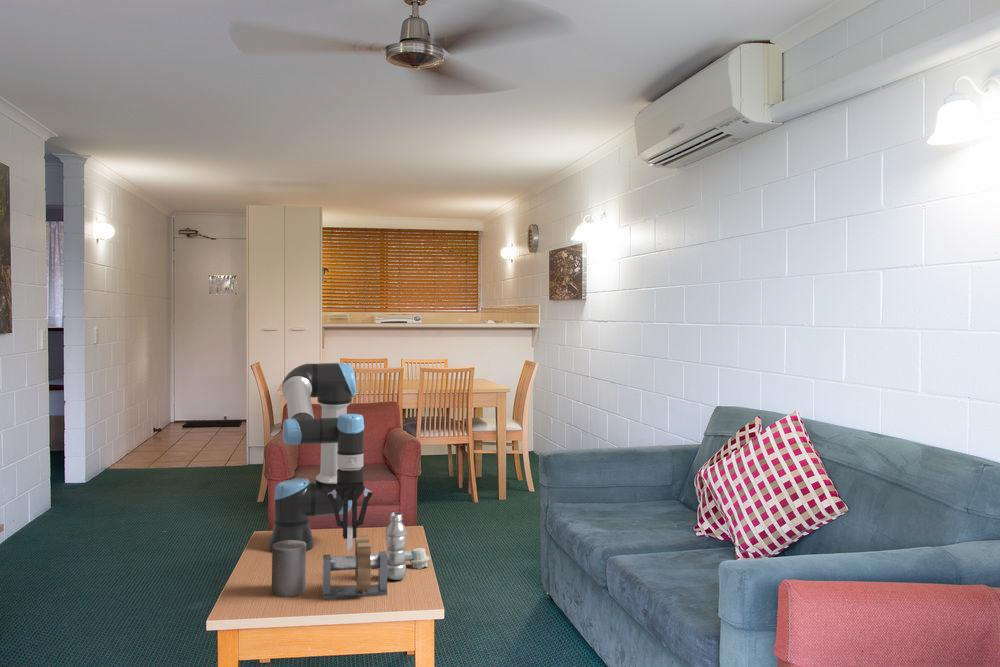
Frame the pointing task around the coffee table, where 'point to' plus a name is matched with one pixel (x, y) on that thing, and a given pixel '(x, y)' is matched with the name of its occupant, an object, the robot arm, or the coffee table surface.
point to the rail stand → (351, 564)
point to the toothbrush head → (417, 558)
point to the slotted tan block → (363, 562)
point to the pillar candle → (288, 568)
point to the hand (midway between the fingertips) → (349, 549)
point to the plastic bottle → (396, 547)
